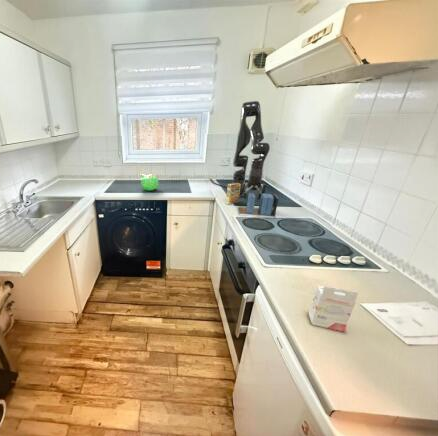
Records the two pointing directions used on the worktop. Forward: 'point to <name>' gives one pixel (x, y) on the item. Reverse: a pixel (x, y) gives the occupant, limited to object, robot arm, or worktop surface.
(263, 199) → the shelved book
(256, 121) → the robot arm
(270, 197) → the shelved book
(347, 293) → the ink cartridge box
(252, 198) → the blue book
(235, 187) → the candy box
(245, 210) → the book rack
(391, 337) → the worktop surface
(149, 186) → the green rounded lump
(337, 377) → the worktop surface
